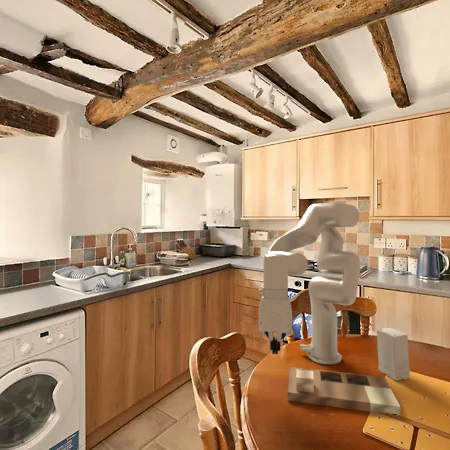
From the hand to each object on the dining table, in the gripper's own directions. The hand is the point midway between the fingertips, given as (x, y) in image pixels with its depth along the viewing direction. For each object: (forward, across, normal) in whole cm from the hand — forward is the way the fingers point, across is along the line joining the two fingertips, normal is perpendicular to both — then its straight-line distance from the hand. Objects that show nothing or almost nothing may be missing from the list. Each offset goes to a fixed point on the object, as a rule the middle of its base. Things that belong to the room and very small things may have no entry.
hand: (275, 352), depth 93 cm
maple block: (+10, +9, +1) cm, 13 cm away
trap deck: (+12, +19, +5) cm, 23 cm away
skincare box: (+12, +38, +21) cm, 45 cm away
